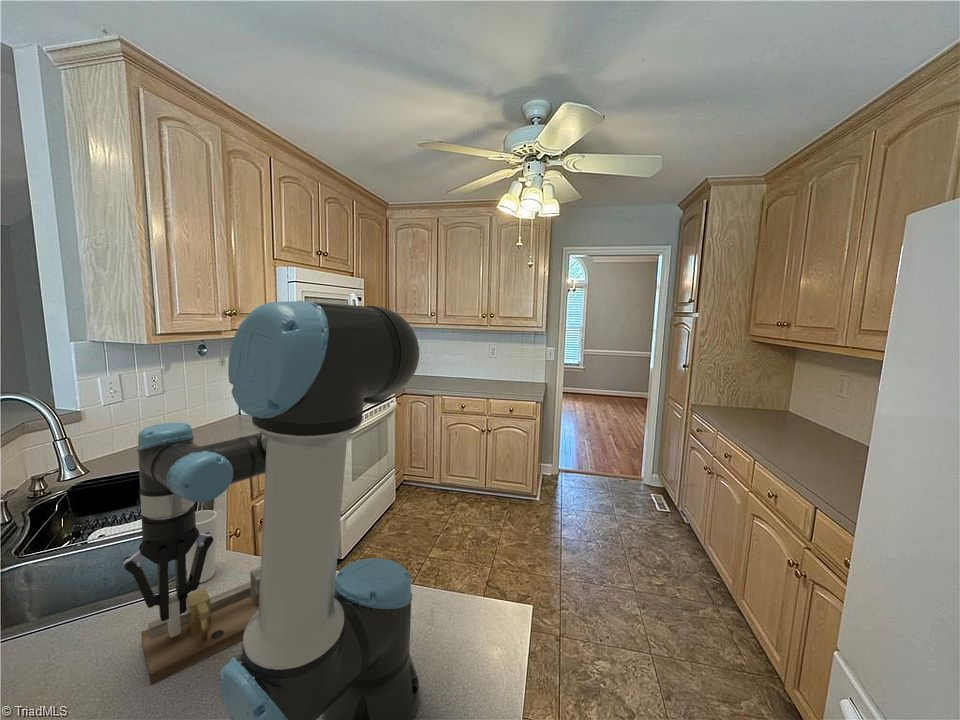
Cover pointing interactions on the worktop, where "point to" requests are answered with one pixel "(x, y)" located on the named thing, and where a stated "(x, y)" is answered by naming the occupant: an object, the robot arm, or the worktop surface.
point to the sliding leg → (199, 613)
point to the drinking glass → (204, 524)
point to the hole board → (186, 649)
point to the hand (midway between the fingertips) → (174, 631)
